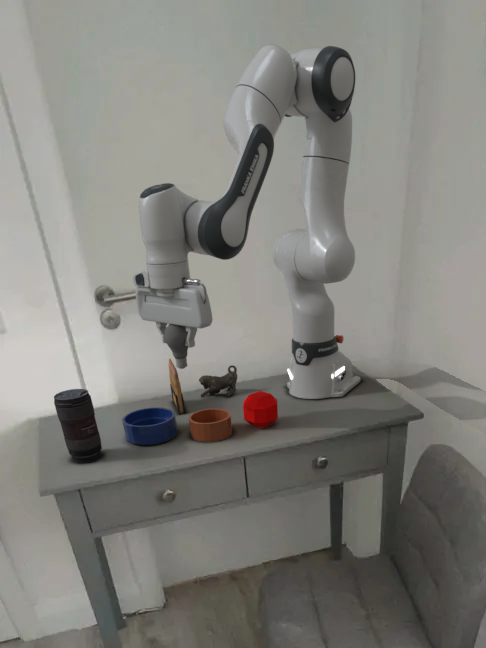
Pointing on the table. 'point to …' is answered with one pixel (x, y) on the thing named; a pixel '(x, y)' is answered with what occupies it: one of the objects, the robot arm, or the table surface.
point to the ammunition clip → (176, 389)
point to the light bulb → (177, 343)
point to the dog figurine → (220, 383)
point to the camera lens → (78, 424)
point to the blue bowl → (150, 426)
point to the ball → (260, 409)
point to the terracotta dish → (210, 425)
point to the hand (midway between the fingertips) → (178, 344)
